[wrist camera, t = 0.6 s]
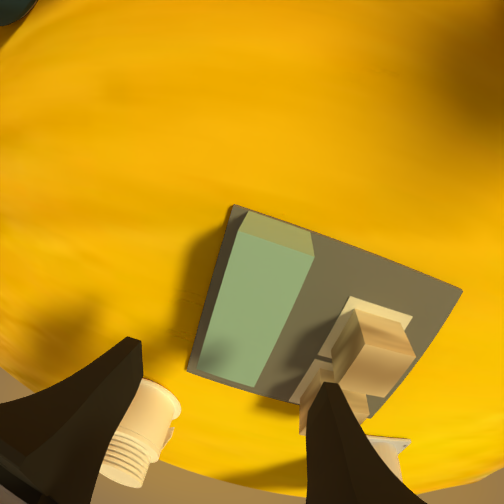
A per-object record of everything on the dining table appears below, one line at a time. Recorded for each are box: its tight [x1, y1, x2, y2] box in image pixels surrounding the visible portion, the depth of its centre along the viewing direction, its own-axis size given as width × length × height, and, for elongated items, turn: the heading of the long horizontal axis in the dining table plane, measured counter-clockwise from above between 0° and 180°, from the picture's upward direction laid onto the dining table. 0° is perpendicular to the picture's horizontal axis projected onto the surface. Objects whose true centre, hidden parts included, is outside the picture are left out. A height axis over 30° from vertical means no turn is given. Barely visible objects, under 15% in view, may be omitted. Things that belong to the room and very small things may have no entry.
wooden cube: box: [299, 368, 370, 436], centre depth 21 cm, size 4×4×4 cm
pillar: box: [331, 309, 416, 398], centre depth 19 cm, size 4×4×4 cm
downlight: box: [99, 378, 181, 488], centre depth 23 cm, size 8×7×10 cm
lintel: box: [196, 211, 315, 387], centre depth 19 cm, size 10×4×4 cm, turn 162°
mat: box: [187, 204, 463, 419], centre depth 22 cm, size 15×18×1 cm
